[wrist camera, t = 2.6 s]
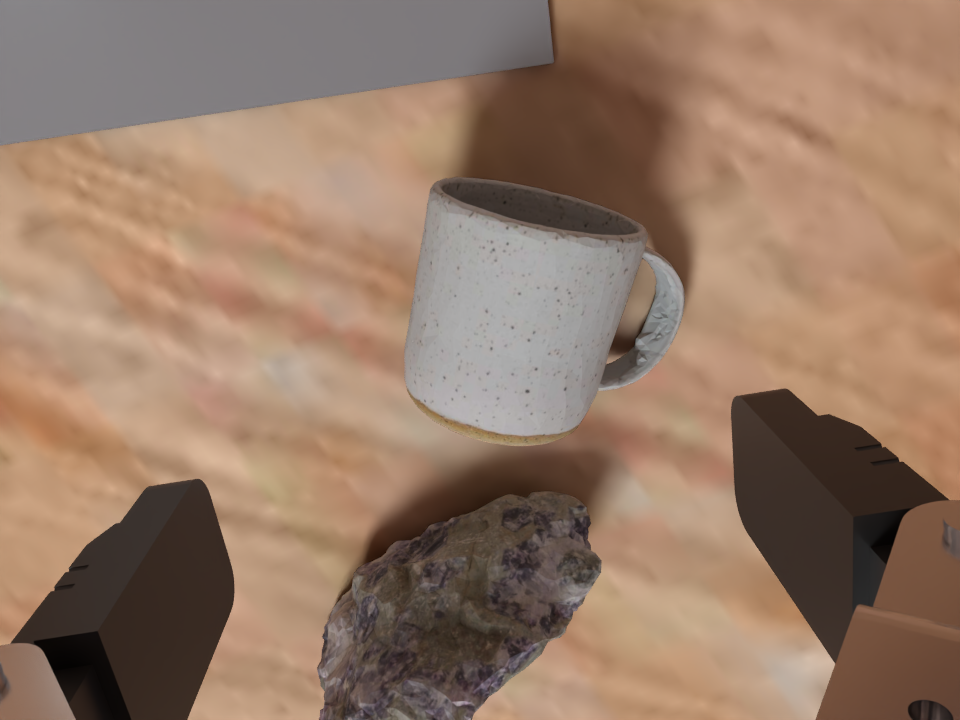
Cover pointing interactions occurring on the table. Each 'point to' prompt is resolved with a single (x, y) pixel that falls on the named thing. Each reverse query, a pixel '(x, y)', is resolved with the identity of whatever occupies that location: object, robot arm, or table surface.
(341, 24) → the mat
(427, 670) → the mineral rock
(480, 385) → the ceramic mug
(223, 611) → the robot arm
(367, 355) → the table surface
